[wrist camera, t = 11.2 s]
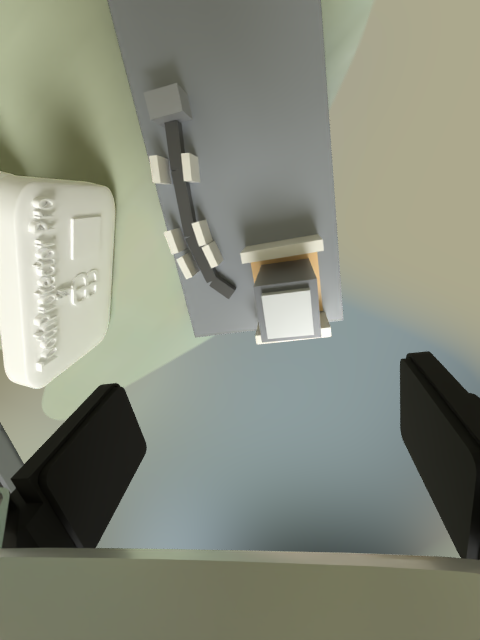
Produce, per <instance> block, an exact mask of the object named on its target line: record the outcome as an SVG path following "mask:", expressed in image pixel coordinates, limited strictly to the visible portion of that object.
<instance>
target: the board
mask: <svg viewBox="0 0 480 640" xmlns="http://www.w3.org/2000/svg"><path fill="white" fill-rule="evenodd" d="M107 1H108V5H109V9H110V12H111V16H112V20H113V24H114V28H115V32H116V35H117V39H118V43H119V47H120V51H121V55H122V58H123V62H124V66H125V70H126V74H127V78H128V81H129V85H130V89H131V93H132V97H133V101H134V104H135V108H136V112H137V116H138V120H139V124H140V128H141V131H142V135H143V139H144V143H145V147H146V151H147V154H148V158H149V162H150V166H151V173H152V181H153V183H155V185H156V189H157V193H158V197H159V200H160V204H161V208H162V212H163V216H164V220H165V223H166V227H167V231H166V232H164V235H165V237H166V240H167V243H168V245H169V248H170V251H171V254H174V258H175V262H176V266H177V270H178V273H179V277H180V281H181V285H182V289H183V293H184V296H185V300H186V304H187V308H188V312H189V316H190V319H191V323H192V327H193V331H194V335H195V337H203V336H211V335H220V334H229V333H237V332H246V331H254V330H256V335H255V337H256V342H257V344H266V343H275V342H285V341H294V340H285V341H274V342H263V343H262V340H261V333H260V327H259V320H258V314H257V308H256V301H255V295H254V288H253V286H254V283H255V281H256V278H257V275H258V272H259V270H260V267H261V265H264V264H271V263H278V262H286V261H293V260H300V259H307V258H309V260H310V263H311V265H312V268H313V270H314V273H315V275H316V278H317V286H318V299H319V312H320V325H321V337H318V338H322V337H331V327H330V325H329V322H332V321H340V320H343V309H342V294H341V280H340V266H339V251H338V237H337V223H336V209H335V195H334V181H333V166H332V152H331V139H330V124H329V109H328V95H327V81H326V67H325V52H324V38H323V24H322V10H321V0H107ZM307 339H312V338H307ZM296 340H303V339H296Z"/></svg>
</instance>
